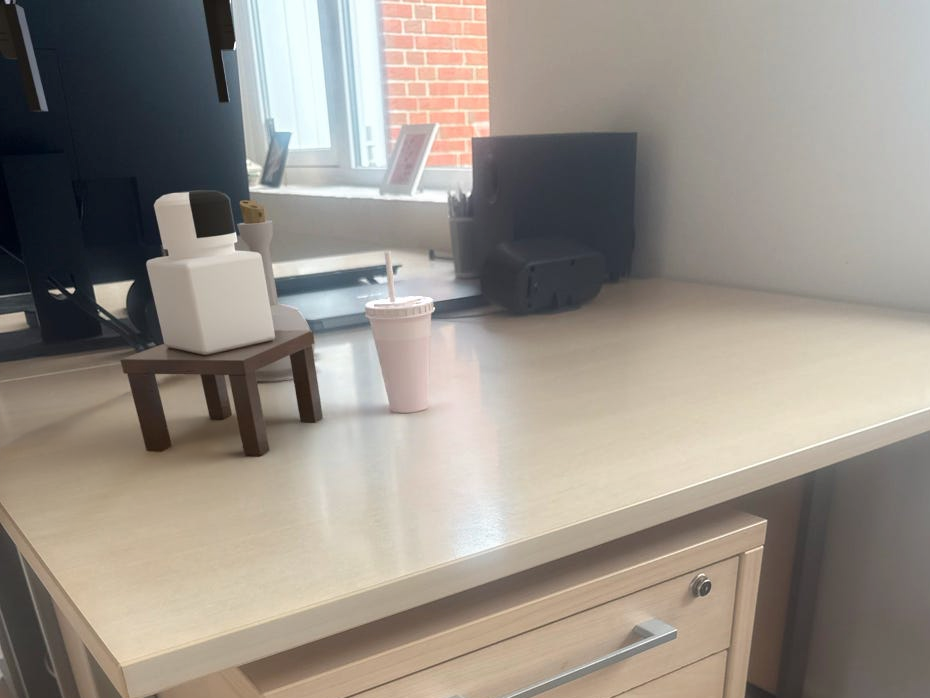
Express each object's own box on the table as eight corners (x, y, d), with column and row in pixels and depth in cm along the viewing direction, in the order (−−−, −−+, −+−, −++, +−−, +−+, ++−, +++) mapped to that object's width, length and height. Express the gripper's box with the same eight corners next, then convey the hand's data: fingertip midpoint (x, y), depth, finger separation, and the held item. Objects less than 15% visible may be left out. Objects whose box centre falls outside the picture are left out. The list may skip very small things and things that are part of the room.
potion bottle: (281, 363, 109) (254, 197, 100) (334, 369, 104) (310, 195, 95) (225, 380, 103) (190, 205, 94) (278, 387, 98) (247, 203, 89)
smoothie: (368, 405, 89) (348, 251, 82) (429, 395, 91) (415, 244, 84) (388, 420, 84) (369, 257, 77) (452, 409, 86) (440, 249, 79)
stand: (142, 451, 80) (119, 359, 76) (218, 413, 90) (200, 330, 86) (261, 457, 76) (243, 360, 73) (326, 417, 86) (313, 330, 82)
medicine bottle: (234, 332, 84) (206, 188, 78) (277, 340, 79) (251, 187, 73) (163, 347, 80) (128, 196, 74) (204, 356, 75) (171, 195, 69)
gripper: (-178, -302, 53) (-57, 113, 64) (252, -292, 58) (300, 97, 68) (-132, -255, 60) (-28, 116, 70) (252, -249, 64) (296, 100, 74)
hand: (133, 107), depth 69 cm, fingers open, 13 cm apart
